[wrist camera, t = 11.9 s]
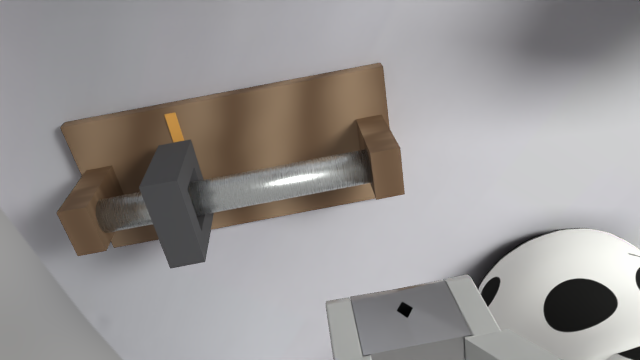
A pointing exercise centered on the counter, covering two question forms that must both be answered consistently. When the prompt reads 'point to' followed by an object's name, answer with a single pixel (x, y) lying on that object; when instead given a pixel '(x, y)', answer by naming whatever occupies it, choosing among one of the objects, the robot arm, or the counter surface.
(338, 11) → the counter surface
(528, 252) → the milk container
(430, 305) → the robot arm
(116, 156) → the pipe stand
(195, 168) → the collar
